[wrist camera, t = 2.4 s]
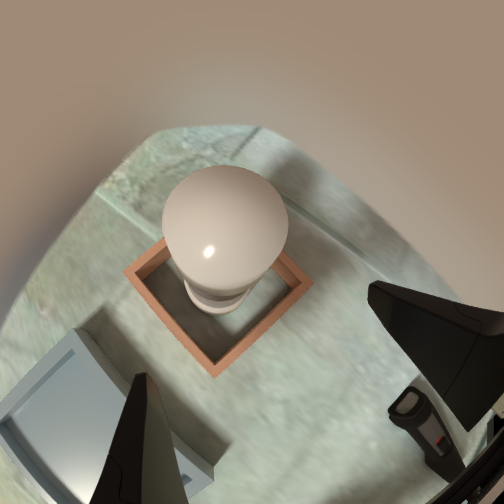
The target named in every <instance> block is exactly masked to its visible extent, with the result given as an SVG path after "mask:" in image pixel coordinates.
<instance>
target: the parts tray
mask: <svg viewBox="0 0 504 504" xmlns="http://www.w3.org/2000/svg"><path fill="white" fill-rule="evenodd" d="M130 388H131V386H130V385H129V384H128V383H127V382H126V380H125V379H124V378H123V377H122V376H121V374H120V373H119V372H118V371H117V370H116V368H115V367H114V366H113V365H112V363H111V362H110V361H109V360H108V358H107V357H106V356H105V354H104V353H103V352H102V350H101V349H100V348H99V346H98V345H97V344H96V342H95V341H94V339H93V338H92V337H91V335H90V334H89V332H88V331H87V330H82V329H75V328H73V329H72V330H70V331H69V332H68V333H67V334H66V335H65V336H64V337H63V338H62V339H61V340H60V341H59V342H58V343H57V344H56V345H55V346H54V347H53V348H52V349H51V350H50V351H49V352H48V353H47V354H46V355H45V356H44V357H43V358H42V359H41V360H40V361H39V362H38V363H37V364H36V365H35V366H34V367H33V368H32V369H31V370H30V371H29V372H28V373H27V374H26V375H25V377H24V378H23V379H22V380H21V381H20V382H19V383H18V384H17V385H16V386H15V387H14V388H13V389H12V390H11V392H10V393H9V394H8V395H7V396H6V397H5V398H4V399H3V400H2V401H1V403H0V445H1V446H2V447H3V449H4V450H5V452H6V453H7V455H8V456H9V457H10V459H11V460H12V461H13V463H14V464H15V465H16V467H17V468H18V469H19V470H20V472H21V473H22V474H23V475H24V477H25V478H26V479H27V480H28V481H29V482H30V484H31V485H32V486H33V487H34V488H35V489H36V490H37V492H38V493H39V494H40V495H41V496H42V497H43V498H44V499H45V500H46V501H47V502H48V503H49V504H89V502H90V500H91V497H92V495H93V493H94V490H95V488H96V486H97V483H98V481H99V478H100V476H101V473H102V470H103V467H104V464H105V461H106V458H107V455H108V454H109V453H108V452H109V449H110V445H111V442H112V439H113V436H114V433H115V430H116V427H117V424H118V421H119V419H120V416H121V413H122V410H123V407H124V404H125V402H126V399H127V396H128V393H129V391H130ZM170 432H171V436H172V441H173V446H174V450H175V454H176V458H177V462H178V466H179V470H180V474H181V478H182V482H183V485H184V489H185V492H186V496H187V499H189V498H190V497H192V496H193V495H195V494H196V493H198V492H199V491H201V490H202V489H204V488H205V487H206V486H208V485H209V484H211V483H212V482H213V481H214V467H213V466H212V465H210V464H209V463H208V462H207V461H205V460H204V459H203V458H202V457H201V456H200V455H198V454H197V453H196V452H195V451H194V450H193V449H192V448H190V447H189V446H188V445H187V444H186V443H185V442H184V441H183V440H182V439H181V438H180V437H179V436H177V435H176V434H175V433H174V432H173V431H172V430H171V429H170Z"/></svg>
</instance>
